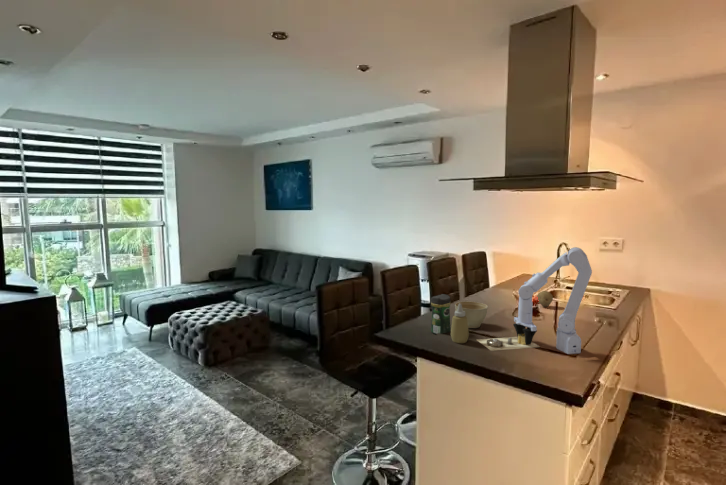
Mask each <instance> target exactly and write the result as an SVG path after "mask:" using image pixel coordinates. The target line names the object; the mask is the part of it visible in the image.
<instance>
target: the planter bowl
mask: <svg viewBox="0 0 726 485" xmlns="http://www.w3.org/2000/svg"><path fill="white" fill-rule="evenodd" d="M459 304H462V309H463V311H464V312H465V316H466V317H467V320H468V329H478V328H480V327H481V325H482V323H483V322H484V320H485V319H486V316H487V315H488V314H487V311H488V309H489V308H488V305H487V304H485V303H482V302H478V301H458V302H456V303H455V304H454V307H455V311H457V309H458V305H459Z"/></svg>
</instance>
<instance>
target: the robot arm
mask: <svg viewBox="0 0 726 485" xmlns="http://www.w3.org/2000/svg"><path fill="white" fill-rule="evenodd" d="M570 264H571V265H572V266H573V267H574V268H575V270H576V271H577V276H576V279H575V282H574V284H573V287H572V290H571V292H570V295H569V297H568V300H567V303H566V306H565V308H564V311H562V313H561V314H560V315H559V316H558V322H557V326H558V327H557V328H556V341H555V342H556V344H555V347H556V349H557V350H558V351H561V352H563V353H565V354H567V355H573V354H574V355H575V354H581V353H582V352H581V350H582V338H581V337H580V335H578V333H577V329H575V328H576V317H577V313H578V311H579V309H580V305H581V304H582V301H583V298H584V295H585V292H586V290H587V288H588V285H589V282H590V279H591V276H592V273H593V270H592V266H591V264H590V261H589V258H588V255H587V254H586V253H585V252H584V250H583V249H582V248H580V247H576V246H574V247H572V248H569V250H568V251H566V252H564V253H563V254H562V255H560V256H559V257H558V258H556V259H555V260H554V261H553V262H552V263H551V264H550V265H549V266H548V267H546V268H545V270H543V271H542V272H536V273H533V274H532V275H531V276H532V277H530V278H529V279H528V280H527V281H524V282H523V284H522V285H521V286H520V288H519V289H518V292H517V293H518V296H519V297H518V308H517V310H518V312H517V313H518V314H517V315H518V316H516V317H515V316H514V317H513V321H514V322H515V323H513V327H514V329H515V332H516V337H518V334H520V333H524V335H525V343H526V345H529V344H531V342H533V339H534V336H535V335H536V333H537V332H538V329H537V326H536V325H535V323H534V322H533V295H534V293H537V292H538V291H540V289H542V288H543V287H544V286H545V285H546V284H547V283H548V279H549V277H551V276H552V275H553V274H554V273H555V272H557V271H558V270H560V269H561V268H562V267H567V266H570Z"/></svg>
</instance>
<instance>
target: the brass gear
mask: <svg viewBox="0 0 726 485" xmlns="http://www.w3.org/2000/svg"><path fill="white" fill-rule="evenodd" d="M518 343H519V344H522V345H526V343H525V335H524V333H520V334H518Z"/></svg>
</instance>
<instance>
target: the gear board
mask: <svg viewBox="0 0 726 485" xmlns="http://www.w3.org/2000/svg"><path fill="white" fill-rule="evenodd" d="M490 339H498V340H500V341H503V347H500V348H498V347H491V346H488V345H487V340H490ZM476 341H477V342H479V343H480V344H481V345H483V346H484V347H486V349H488V350H489V351H491V352H493V351H504V350H506V351H507V350H517V349H532V348H541V346H539V344H537V343H535V342H533V341H532V342H531V344H529V345H522V344H519V343H518V337H517V336H511V337H510V336H509V337H494V338H482V339H481V338H479V339H476Z"/></svg>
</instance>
